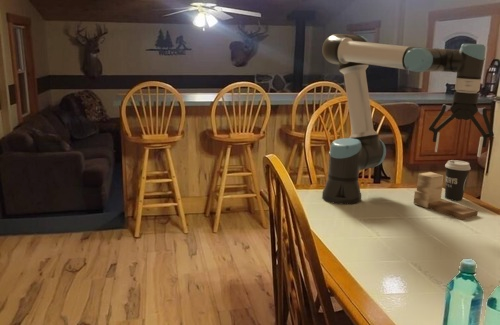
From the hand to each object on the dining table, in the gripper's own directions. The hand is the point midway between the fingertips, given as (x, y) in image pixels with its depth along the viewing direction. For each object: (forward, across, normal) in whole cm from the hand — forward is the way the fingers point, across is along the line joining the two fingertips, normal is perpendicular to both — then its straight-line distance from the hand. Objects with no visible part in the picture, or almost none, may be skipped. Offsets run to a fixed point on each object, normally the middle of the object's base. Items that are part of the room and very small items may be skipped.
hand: (457, 153), depth 161 cm
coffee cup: (+24, +2, +27) cm, 36 cm away
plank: (+24, -1, +10) cm, 26 cm away
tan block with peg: (+23, -7, +13) cm, 28 cm away
